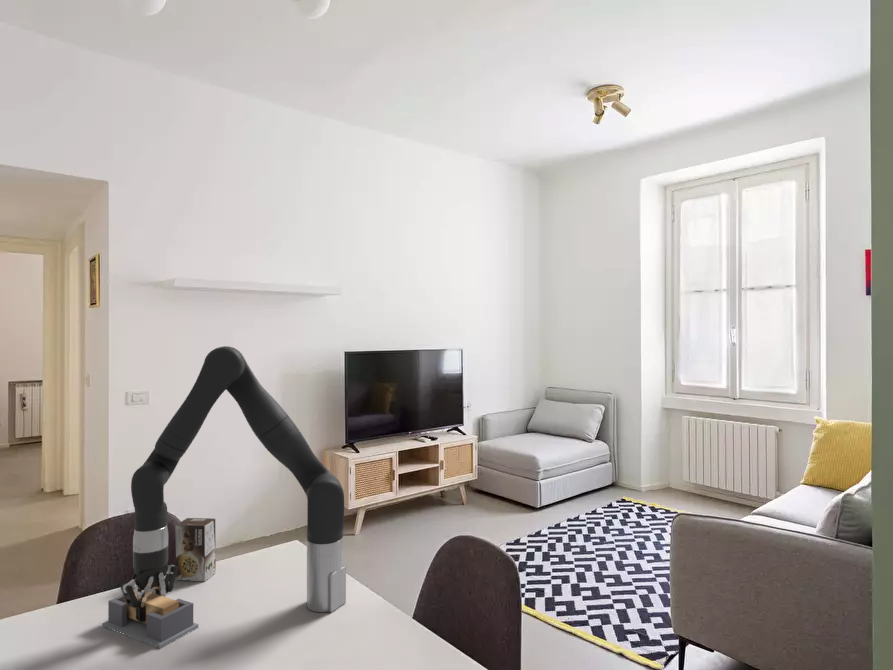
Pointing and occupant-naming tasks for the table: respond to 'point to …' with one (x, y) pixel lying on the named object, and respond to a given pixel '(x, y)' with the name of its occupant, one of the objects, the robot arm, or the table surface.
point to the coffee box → (195, 549)
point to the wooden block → (154, 605)
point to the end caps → (151, 622)
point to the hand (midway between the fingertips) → (150, 616)
